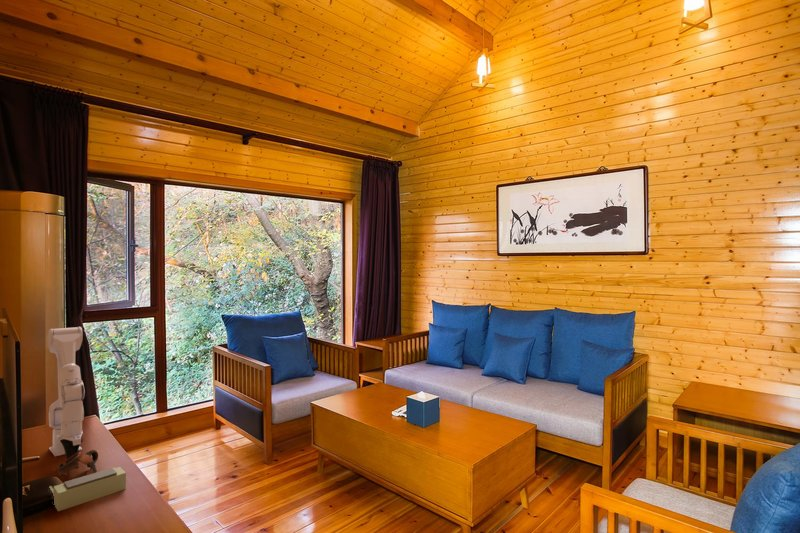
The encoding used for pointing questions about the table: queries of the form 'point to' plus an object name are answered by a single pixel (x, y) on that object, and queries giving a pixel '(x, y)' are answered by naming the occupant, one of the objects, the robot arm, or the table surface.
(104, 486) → the deck bay
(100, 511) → the table surface
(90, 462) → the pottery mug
